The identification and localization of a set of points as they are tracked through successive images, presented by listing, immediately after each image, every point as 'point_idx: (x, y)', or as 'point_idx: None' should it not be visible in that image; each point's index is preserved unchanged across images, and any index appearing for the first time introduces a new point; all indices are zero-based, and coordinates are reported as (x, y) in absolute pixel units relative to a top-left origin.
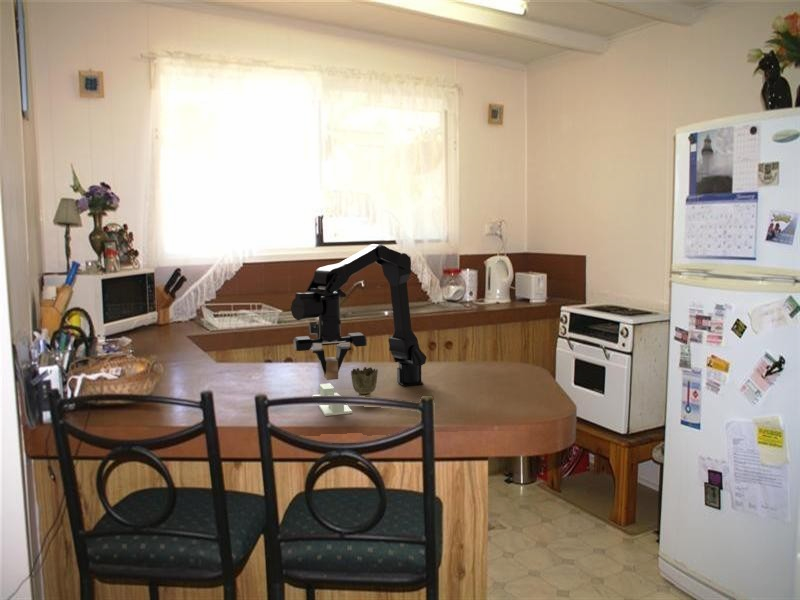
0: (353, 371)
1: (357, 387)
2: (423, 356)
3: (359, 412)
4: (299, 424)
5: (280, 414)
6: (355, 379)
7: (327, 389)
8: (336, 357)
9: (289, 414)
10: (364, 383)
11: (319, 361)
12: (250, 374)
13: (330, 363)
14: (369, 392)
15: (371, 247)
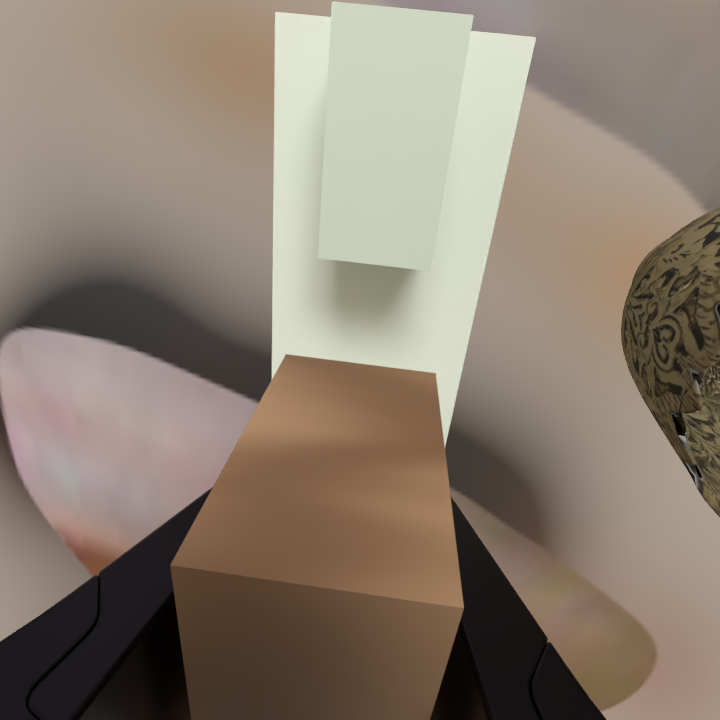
0: None
1: (633, 378)
2: None
3: (469, 523)
4: (134, 542)
5: (26, 368)
6: (658, 416)
7: (361, 262)
8: (469, 702)
9: (80, 391)
10: (701, 452)
11: (101, 577)
12: None
13: None
14: (711, 378)
15: None
